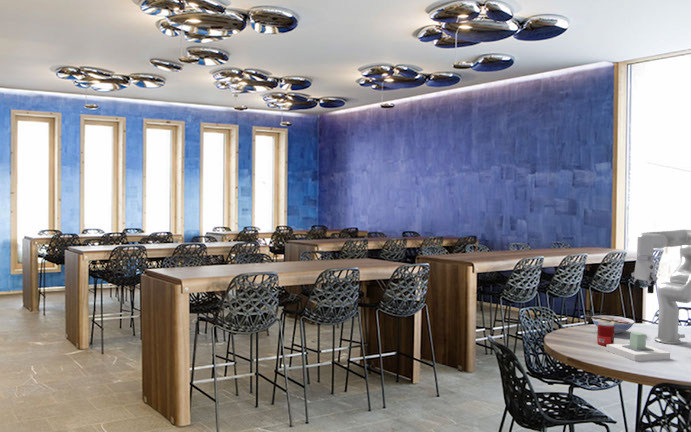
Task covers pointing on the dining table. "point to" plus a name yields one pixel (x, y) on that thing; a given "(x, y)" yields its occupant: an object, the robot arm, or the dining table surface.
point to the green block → (637, 340)
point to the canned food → (605, 333)
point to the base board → (637, 352)
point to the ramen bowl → (614, 322)
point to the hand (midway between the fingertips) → (643, 291)
